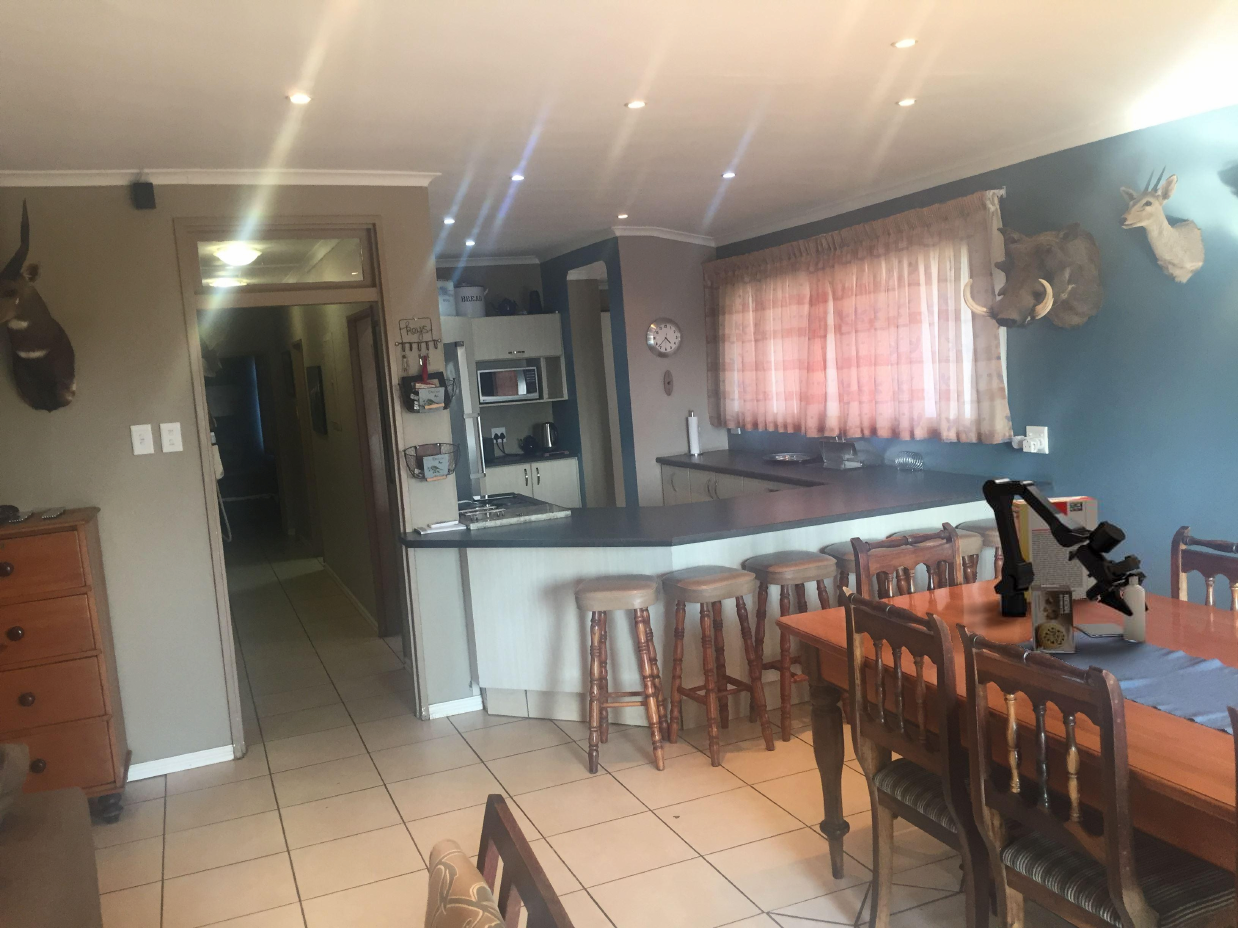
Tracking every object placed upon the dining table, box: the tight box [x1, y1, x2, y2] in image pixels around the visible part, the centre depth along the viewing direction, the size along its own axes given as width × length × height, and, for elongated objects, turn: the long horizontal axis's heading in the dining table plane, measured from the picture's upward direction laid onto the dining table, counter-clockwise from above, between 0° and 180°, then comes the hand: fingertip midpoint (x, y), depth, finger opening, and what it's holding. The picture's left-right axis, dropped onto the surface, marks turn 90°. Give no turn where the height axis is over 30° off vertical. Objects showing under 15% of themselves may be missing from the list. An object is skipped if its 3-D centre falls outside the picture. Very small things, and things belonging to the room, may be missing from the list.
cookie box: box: [1030, 585, 1076, 654], centre depth 224 cm, size 9×6×16 cm
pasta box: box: [1012, 495, 1100, 603], centre depth 273 cm, size 23×8×30 cm, turn 88°
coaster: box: [1074, 622, 1124, 637], centre depth 237 cm, size 10×10×1 cm
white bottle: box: [1122, 576, 1146, 643], centre depth 228 cm, size 5×5×16 cm
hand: (1139, 613), depth 227 cm, fingers open, 6 cm apart
